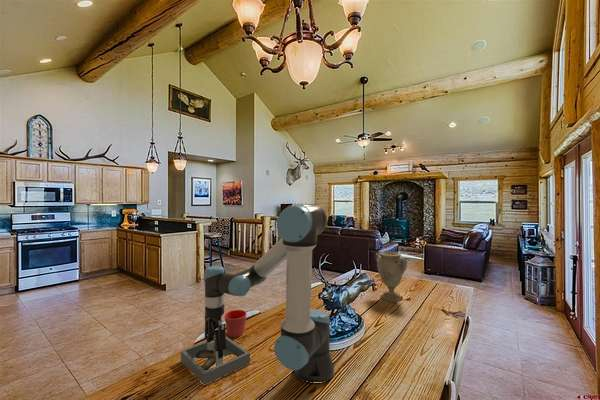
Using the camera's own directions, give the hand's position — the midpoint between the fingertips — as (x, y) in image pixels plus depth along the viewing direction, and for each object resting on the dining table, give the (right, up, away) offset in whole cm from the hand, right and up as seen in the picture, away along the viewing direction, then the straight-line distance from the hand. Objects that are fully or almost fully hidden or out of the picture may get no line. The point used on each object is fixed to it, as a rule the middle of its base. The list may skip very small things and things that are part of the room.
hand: (215, 361), depth 115 cm
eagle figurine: (-2, 0, -2) cm, 3 cm away
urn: (+95, 0, +72) cm, 119 cm away
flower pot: (+3, -1, +25) cm, 25 cm away
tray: (0, -1, 0) cm, 1 cm away
